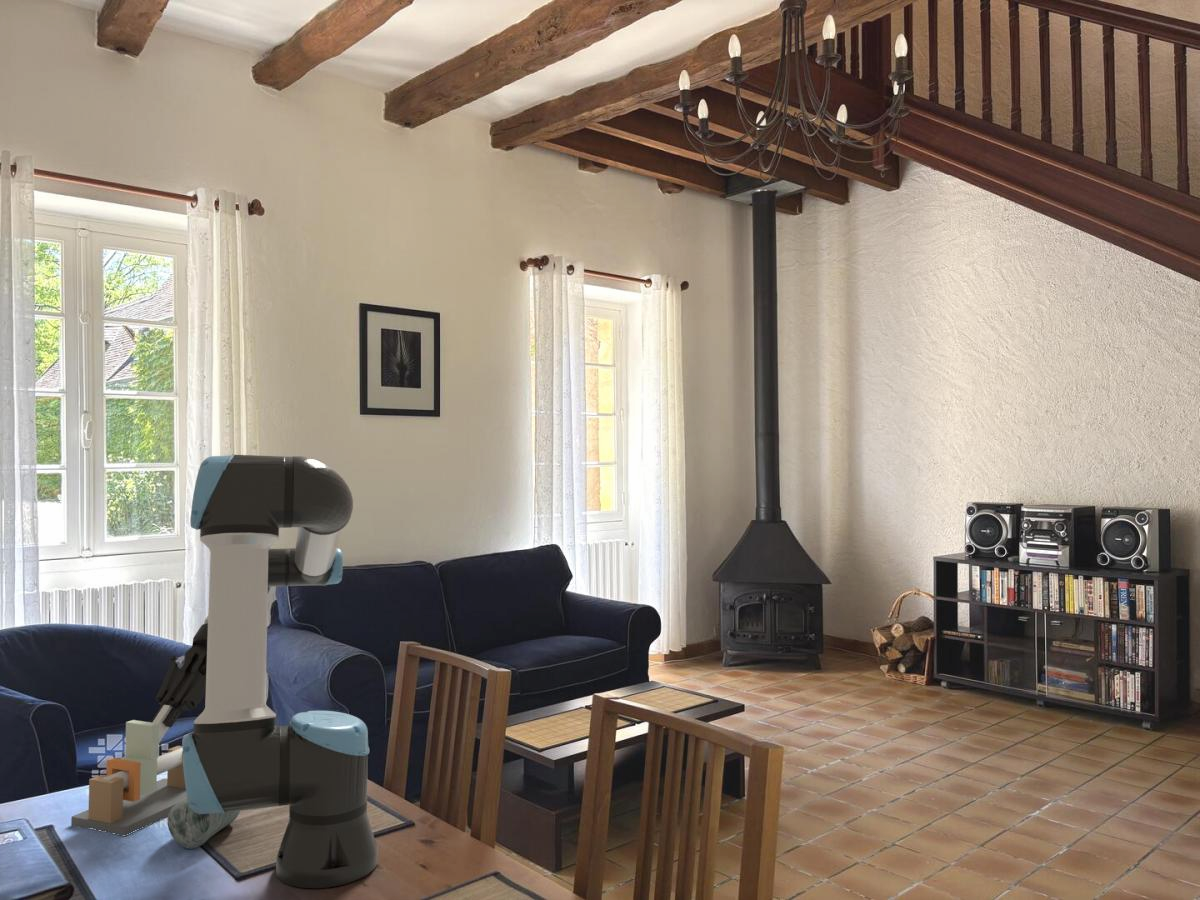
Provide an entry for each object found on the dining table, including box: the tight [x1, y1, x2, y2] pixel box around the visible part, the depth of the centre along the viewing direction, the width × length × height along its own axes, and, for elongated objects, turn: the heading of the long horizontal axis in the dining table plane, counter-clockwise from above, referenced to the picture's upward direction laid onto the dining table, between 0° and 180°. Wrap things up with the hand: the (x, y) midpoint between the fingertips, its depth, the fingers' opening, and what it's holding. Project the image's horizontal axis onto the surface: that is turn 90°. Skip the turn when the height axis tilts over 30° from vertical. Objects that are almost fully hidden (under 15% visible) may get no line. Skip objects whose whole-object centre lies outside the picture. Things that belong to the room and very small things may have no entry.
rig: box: [70, 745, 187, 836], centre depth 161 cm, size 12×20×9 cm, turn 160°
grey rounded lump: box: [166, 795, 241, 850], centre depth 150 cm, size 14×10×10 cm
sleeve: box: [118, 719, 159, 796], centre depth 158 cm, size 6×4×12 cm, turn 70°
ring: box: [106, 757, 141, 802], centre depth 156 cm, size 6×1×6 cm, turn 70°
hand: (150, 740), depth 162 cm, fingers closed
